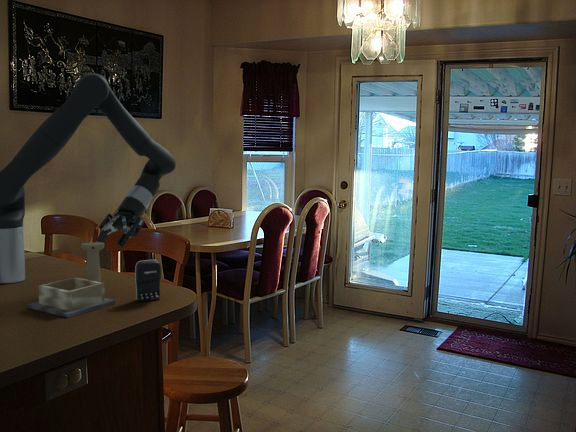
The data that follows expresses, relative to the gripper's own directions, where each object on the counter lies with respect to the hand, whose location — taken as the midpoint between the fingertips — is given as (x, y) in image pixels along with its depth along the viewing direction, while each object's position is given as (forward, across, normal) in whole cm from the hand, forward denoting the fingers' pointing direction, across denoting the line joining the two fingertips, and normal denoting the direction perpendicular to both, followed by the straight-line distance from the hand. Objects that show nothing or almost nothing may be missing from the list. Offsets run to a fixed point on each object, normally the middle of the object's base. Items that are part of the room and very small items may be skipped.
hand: (108, 244), depth 181 cm
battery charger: (+12, +18, +8) cm, 23 cm away
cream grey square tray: (+23, +5, -3) cm, 23 cm away
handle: (+14, 0, +6) cm, 15 cm away
